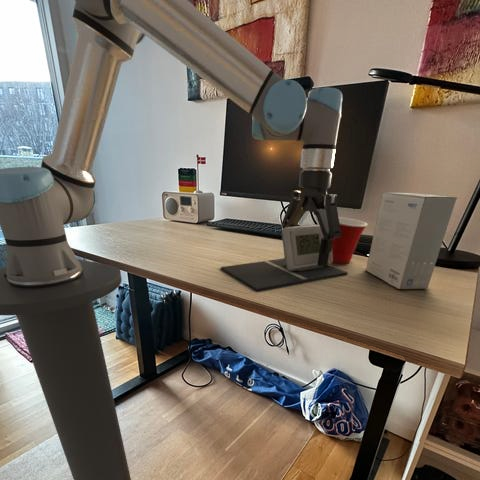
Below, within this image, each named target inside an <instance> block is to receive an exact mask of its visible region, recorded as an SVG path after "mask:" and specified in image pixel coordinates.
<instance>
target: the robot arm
mask: <svg viewBox="0 0 480 480" xmlns="http://www.w3.org/2000/svg"><path fill="white" fill-rule="evenodd" d="M74 1H75V3H74V8H73V12H72V18H71V20H72V22H73V24H74V27H75V29H76V32H77V38H76V44H75V48H74V53H73V56H72V57H73V58H72V61H71V66H70V71H69V75H68V80H67V85H66V89H65V94H64V96H63V97H64V98H63V102H62V103H63V104H62V107H61V111H60V116H59V121H58V125H57V130H56V133H55V138H54V142H53V148H52V152H51V153H50V154H47V155H45V156H43V157H42V160H41V163H40V164H41V165H40V166H17V167H5V168H0V229H1V233H2V235H3V238H4V241H5V245H6V249H7V255H6V267H7V268H6V274H5V275H4V277H5V278H7V279H8V282H9V284H10V285H11V286H14V287H18V288H44V287H51V286H57V285H62V284H65V283H69V282H72V281H74V280H76V279H78V278H80V277H81V276H82V275H83V270H82V267H81V264H80V262H79V261H78V259H79V258H78V257H77V256H76V254H75V253H74V251H73V249H72V247H71V246H70V244H69V241H68V239H67V238H68V237H67V235H66V234H67V233H66V230H65V225H69V224H72V223H77V222H81V221H84V220H85V219H86V218H88V217H90V215H92V214H93V212H94V211H95V208H96V206H97V201H98V199H97V198H98V197H97V193H96V192H95V191H96V190H95V185H96V182H97V179H96V177H95V175H94V173H93V171H92V170H93V168H94V164H95V160H96V157H97V153H98V149H99V146H100V142H101V140H102V139H101V138H102V136H103V132H104V128H105V124H106V121H107V118H108V114H109V110H110V107H111V103H112V101H113V96H114V92H115V89H116V85H117V82H118V78H119V75H120V71H121V68H122V65H123V64H125V63H127V62H129V61H132V59H133V55H134V52H135V49H136V46H137V45H139V44H140V43H142V42H143V41H144V40H145V39H146V37H147V38H148V39H150V40H151V41H152V42H154V43H155V44H156V45H157V46H159V47H160V48H161V49H163V50H164V51H166V52H167V53H168V54H170V55H171V56H172V57H173V58H175V60H178V61H179V62H180V63H182V64H183V65H184V66H186V67H187V68H188V69H190V70H191V71H192V72H193V73H195V74H196V75H197V76H199V77H201V79H203V80H204V81H205V82H206V83H208V84H209V85H211V86H212V87H213V88H214V89H216V90H217V91H219V92H220V93H221V94H223V95H224V96H225V97H226V98H228V99H230V100H231V101H232V102H233V103H235V104H236V105H237V106H239V107H240V108H241V109H243V110H244V111H245V112H247V113H248V114H249V115H250V116H252V124H251V125H252V127H251V136H252V138H253V139H254V140H261V141H265V142H268V141H297V142H299V141H300V142H302V149H301V157H300V158H301V159H300V164H299V165H300V168H301V169H302V170H301V171H300V172H299V179H298V187H299V189H300V190H292V191H291V197H290V201H289V203H288V206H287V209H286V211H285V213H284V216H283V219H282V221H281V225H282V226H284V227H294V226H298V224H299V222H300V221H301V220H302V218H303V217H304V216H305V214H306V213H307V212H310V213H313V215H315V216H316V219H317V222H318V225H320V228H321V231H322V233H323V236H324V237H323V238H322V239H321V244H320V251H319V257H318V264H317V265H319V266H321V265H327V264H328V258H329V253H330V252H331V250H332V244H333V240H334V239H335V238H339V237H341V230H340V224H339V211H338V206H337V204H338V194H336V193H335V194H333V193H331V194H330V193H328V190H329V189H330V188H331V185H332V184H331V183H332V177H333V173H332V172H331V171H330V170H332V169H333V168H334V162H335V154H336V149H337V148H336V147H337V140H338V133H339V127H340V122H341V118H342V106H343V93H342V90H340V89H338V88H335V87H316V88H313V89H311V90H309V92H308V93H307V95H306V91H305V90H304V88H303V86H302V85H301V84H300V83H299V82H298V81H296V80H293V79H289V78H286V79H284V78H283V77H282V76H281V75H279V74H278V73H276V72H275V71H274V70H273V69H272V68H270V67H269V66H268V65H266V64H265V63H264V62H263V61H262V60H261V59H259V58H258V57H257V56H256V55H255V54H253V53H252V52H251V51H249V49H247V48H246V47H245V46H243V45H242V43H240V42H239V41H238V40H236V39H235V38H234V37H232V36H231V35H230V34H229V33H228V32H226V31H225V30H224V29H223V28H221V27H220V26H219V25H218V24H217V23H215V22H214V21H213V20H212V19H210V18H209V17H208V16H207V15H206V14H204V13H203V12H202V11H201V10H199V8H197V7H196V6H195V5H193V4H192V3H191V2H190V1H189V0H74ZM335 232H336V233H335ZM328 233H329V234H328Z"/></svg>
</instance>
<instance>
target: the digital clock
mask: <svg viewBox="0 0 480 480" xmlns="http://www.w3.org/2000/svg"><path fill="white" fill-rule="evenodd" d="M328 234H329V233H328ZM323 237H324V236H323V233H322V231H321V228H320V225H319V224H316V223H315V224H305V225H304V224H303V225H296V226H294V227H286V226H284V228H282V230H281V241H282V248H283V255H284V257H283V259H284V265H285V266H286V268H287V270H288V271H295V270H298V271H302V270H307V269H313V268H319V267H323V266H324V265H321V266H319V265H317V264H318V257H319V251H320V244H321V239H322V238H323ZM333 263H334V262H333V254H332V250H331V252H330V253H329V258H328V264H327V265H329V266H331V264H333Z"/></svg>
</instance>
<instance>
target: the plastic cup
mask: <svg viewBox="0 0 480 480" xmlns="http://www.w3.org/2000/svg"><path fill="white" fill-rule="evenodd" d="M338 217H339V216H338ZM339 224H340V230H341V237H339V238H335V239H334V240H333V244H332V254H333V262H332V263H333V264H342V265H344V264H345V265H346V264H350V262H351V261H352V258H353V256H354V253H355V251H356V248H357V246H358V243H359V240H360V238H361V235H362V234H363V231H364V230H365V229H366V227H368V223H367V222H366V221H362V220H360V219H359V220H358V219H354V218H348V217H339ZM335 233H336V232H335Z"/></svg>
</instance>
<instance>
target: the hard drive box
mask: <svg viewBox="0 0 480 480" xmlns="http://www.w3.org/2000/svg"><path fill="white" fill-rule="evenodd" d="M457 199H458V197H456V196H446V195H436V194H427V193H426V194H425V193H413V192H382V195H381V198H380V204H379V208H378V213H377V217H376V221H375V225H374V230H373V234H372V235H373V236H372V241H371V244H370V249H369V254H368V258H367V261H366V267H365V271H366V272H368V273H370V274H372V275H373V276H376V277H377V278H379V279H381V280H382V281H384V282H385V283H387V284H388V285H390V286H392V287H394V288H396V289H398V290H417V289H418V290H421V289H422V290H423V289H424V290H425V289H429V285H430V283H431V279H432V276H433V273H434V270H435V267H436V264H437V261H438V257H439V254H440V250H441V248H442V246H443V245H442V244H443V242H444V239H445V236H446V233H447V230H448V226H449V223H450V220H451V217H452V214H453V211H454V208H455V204H456V202H457Z"/></svg>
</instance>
